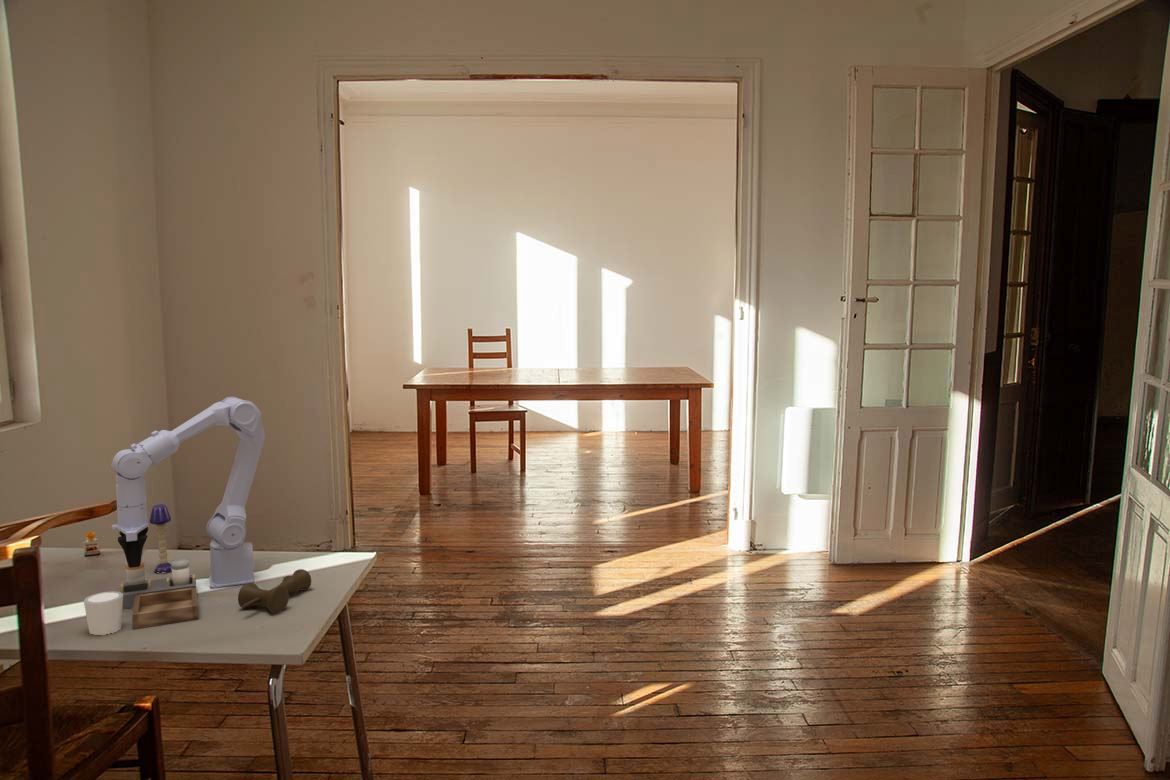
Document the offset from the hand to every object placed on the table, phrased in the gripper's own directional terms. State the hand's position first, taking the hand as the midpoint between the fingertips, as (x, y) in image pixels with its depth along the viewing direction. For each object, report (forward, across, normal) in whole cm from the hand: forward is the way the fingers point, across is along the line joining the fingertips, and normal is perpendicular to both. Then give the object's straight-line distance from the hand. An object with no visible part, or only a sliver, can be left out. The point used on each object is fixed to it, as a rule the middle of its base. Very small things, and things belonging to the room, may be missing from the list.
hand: (134, 563), depth 178 cm
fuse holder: (+8, 0, +4) cm, 10 cm away
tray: (+8, +11, +6) cm, 15 cm away
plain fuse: (+8, 0, +9) cm, 12 cm away
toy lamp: (+9, -19, +5) cm, 21 cm away
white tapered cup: (+9, +15, -5) cm, 18 cm away
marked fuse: (+4, 0, 0) cm, 4 cm away
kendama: (+9, +14, +28) cm, 32 cm away
